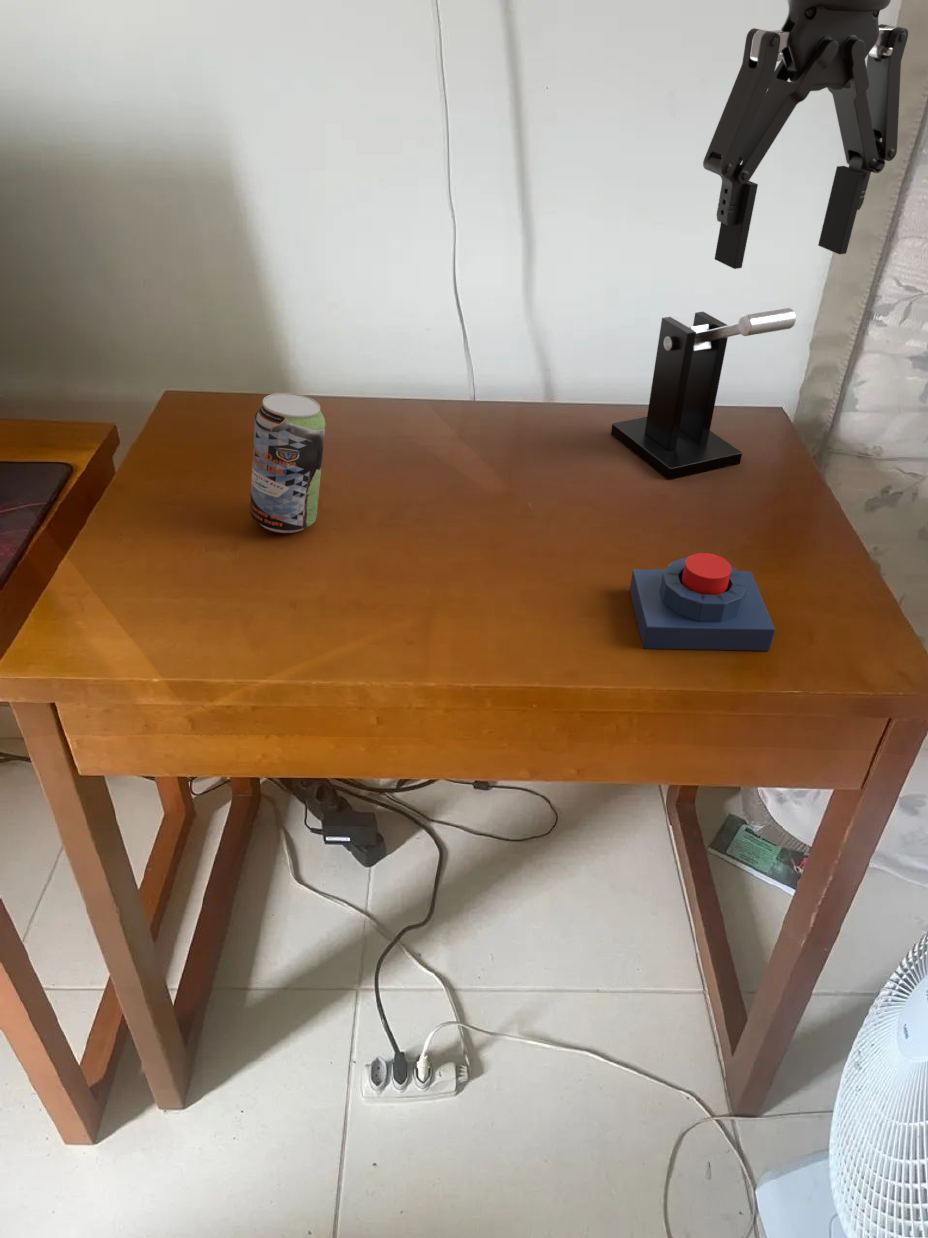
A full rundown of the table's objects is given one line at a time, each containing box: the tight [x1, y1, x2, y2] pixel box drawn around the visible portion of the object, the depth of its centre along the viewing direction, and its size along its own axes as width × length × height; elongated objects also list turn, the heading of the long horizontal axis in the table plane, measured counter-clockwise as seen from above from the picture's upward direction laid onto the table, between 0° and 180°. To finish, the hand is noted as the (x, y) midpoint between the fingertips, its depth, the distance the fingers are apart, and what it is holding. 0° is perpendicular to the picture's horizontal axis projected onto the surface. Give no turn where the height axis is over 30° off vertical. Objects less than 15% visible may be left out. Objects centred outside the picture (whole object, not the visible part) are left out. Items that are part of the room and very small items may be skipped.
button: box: [682, 552, 732, 595], centre depth 78 cm, size 4×4×2 cm
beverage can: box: [249, 392, 326, 534], centre depth 87 cm, size 6×7×12 cm
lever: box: [688, 307, 797, 353], centre depth 93 cm, size 13×5×2 cm
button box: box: [629, 556, 776, 652], centre depth 79 cm, size 10×8×4 cm
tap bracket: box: [610, 311, 743, 480], centre depth 100 cm, size 11×9×14 cm
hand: (781, 256), depth 84 cm, fingers open, 10 cm apart
